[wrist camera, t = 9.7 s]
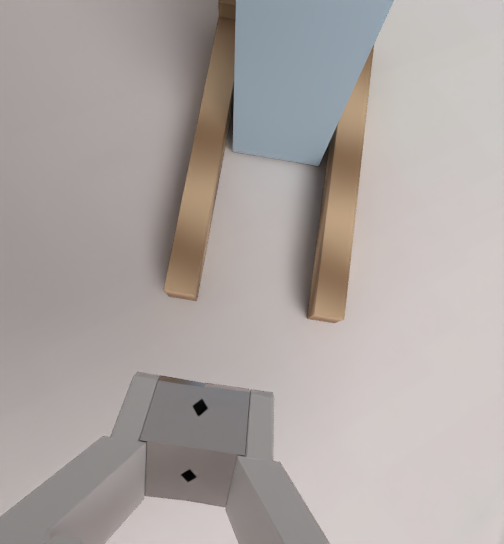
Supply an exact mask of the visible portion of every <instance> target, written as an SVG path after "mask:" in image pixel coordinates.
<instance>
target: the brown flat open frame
mask: <svg viewBox="0 0 504 544" xmlns="http://www.w3.org/2000/svg"><path fill="white" fill-rule="evenodd" d="M218 3H219V18H218V23H217V28H216V33H215V38H214V43H213V48H212V53H211V58H210V63H209V68H208V73H207V78H206V83H205V88H204V93H203V98H202V102H201V107H200V112H199V117H198V122H197V127H196V132H195V137H194V142H193V147H192V152H191V157H190V162H189V167H188V172H187V177H186V182H185V187H184V192H183V197H182V202H181V207H180V211H179V216H178V221H177V226H176V231H175V236H174V241H173V246H172V251H171V256H170V261H169V266H168V271H167V276H166V281H165V286H164V291H165V292H166V293H167V295H168V296H170V297H176V298H182V299H188V300H194V301H197V297H198V292H199V286H200V281H201V275H202V270H203V264H204V259H205V254H206V248H207V243H208V237H209V232H210V226H211V221H212V215H213V210H214V205H215V199H216V194H217V188H218V183H219V177H220V172H221V167H222V161H223V156H224V150H225V145H226V139H227V134H228V128H229V123H230V118H231V112H232V107H233V101H234V67H235V22H236V0H219V2H218ZM373 48H374V45H373V47H372V49H371V52H370V54H369V56H368V58H367V60H366V63H365V65H364V67H363V69H362V71H361V74H360V76H359V78H358V80H357V82H356V85H355V87H354V89H353V91H352V93H351V96H350V98H349V100H348V102H347V105H346V107H345V109H344V111H343V113H342V116H341V118H340V120H339V122H338V124H337V127H336V129H335V131H334V133H333V135H332V138H331V140H330V142H329V150H328V158H327V166H326V174H325V181H324V189H323V197H322V205H321V213H320V221H319V229H318V237H317V245H316V252H315V260H314V268H313V276H312V284H311V292H310V300H309V308H308V316H307V319H312V320H319V321H325V322H331V323H336V322H338V321H341V320H343V319H344V316H345V307H346V298H347V289H348V279H349V270H350V261H351V252H352V242H353V233H354V224H355V215H356V205H357V196H358V187H359V178H360V168H361V159H362V150H363V141H364V131H365V122H366V113H367V104H368V94H369V85H370V76H371V67H372V57H373Z"/></svg>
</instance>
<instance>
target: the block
mask: <svg viewBox="0 0 504 544" xmlns="http://www.w3.org/2000/svg"><path fill="white" fill-rule="evenodd" d="M393 1H394V0H236V22H235V67H234V113H233V152H238V153H244V154H250V155H256V156H262V157H268V158H274V159H280V160H286V161H292V162H298V163H304V164H310V165H315V166H319V164H320V162H321V160H322V157H323V155H324V153H325V151H326V149H327V146H328V144H329V142H330V140H331V138H332V135H333V133H334V131H335V129H336V127H337V124H338V122H339V120H340V118H341V116H342V113H343V111H344V109H345V107H346V105H347V102H348V100H349V98H350V96H351V93H352V91H353V89H354V87H355V85H356V82H357V80H358V78H359V76H360V74H361V71H362V69H363V67H364V65H365V63H366V60H367V58H368V56H369V54H370V52H371V49H372V47H373V45H374V43H375V41H376V38H377V36H378V34H379V32H380V30H381V27H382V25H383V23H384V21H385V19H386V16H387V14H388V12H389V10H390V8H391V5H392V3H393Z"/></svg>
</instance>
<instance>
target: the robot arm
mask: <svg viewBox="0 0 504 544" xmlns="http://www.w3.org/2000/svg"><path fill="white" fill-rule="evenodd" d="M273 442H274V395H273V393H272V392H265V391H258V390H252V389H247V388H240V387H233V386H226V385H218V384H211V383H200V382H195V381H189V380H183V379H178V378H172V377H167V376H161V375H154V374H148V373H142V372H136V374H135V375H134V377H133V379H132V381H131V384H130V386H129V389H128V392H127V394H126V397H125V399H124V402H123V405H122V407H121V410H120V413H119V415H118V418H117V420H116V423H115V426H114V428H113V431H112V433H111V436H110V437H106V436H102V437H101V438H100V439H99V440H97V441H96V442H95V443H93V444H92V445H91V446H90V447H88V448H87V449H86V450H85V451H83V452H82V453H81V454H80V455H78V456H77V457H76V458H74V459H73V460H72V461H71V462H69V463H68V464H67V465H66V466H64V467H63V468H62V469H60V470H59V471H58V472H57V473H55V474H54V475H53V476H52V477H50V478H49V479H48V480H46V481H45V482H44V483H43V484H41V485H40V486H39V487H38V488H36V489H35V490H34V491H32V492H31V493H30V494H29V495H27V496H26V497H25V498H24V499H22V500H21V501H20V502H18V503H17V504H16V505H15V506H13V507H12V508H11V509H10V510H8V511H7V512H6V513H4V514H3V515H2V516H1V517H0V544H105V542H106V541H107V540H108V539H109V538H110V537H111V536H112V535H113V533H114V532H115V531H116V530H117V529H118V528H119V527H120V526H121V524H122V523H123V522H124V521H125V520H126V519H127V518H128V517H129V515H130V514H131V513H132V512H133V511H134V510H135V509H136V508H137V506H138V505H139V504H140V503H141V502H142V501H143V500H144V496H149V497H158V498H167V499H176V500H186V501H191V502H197V503H203V504H208V505H214V506H220V507H226V509H225V510H226V513H227V515H228V518H229V520H230V523H231V525H232V528H233V530H234V533H235V535H236V538H237V540H238V543H239V544H330V543H329V541H328V539H327V538H326V536H325V535H324V533H323V531H322V530H321V528H320V526H319V525H318V523H317V521H316V520H315V518H314V517H313V515H312V513H311V512H310V510H309V508H308V507H307V505H306V503H305V502H304V500H303V499H302V497H301V495H300V494H299V492H298V490H297V489H296V487H295V485H294V484H293V482H292V481H291V479H290V477H289V476H288V474H287V472H286V471H285V469H284V467H283V466H282V464H281V462H277V461H273Z"/></svg>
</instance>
